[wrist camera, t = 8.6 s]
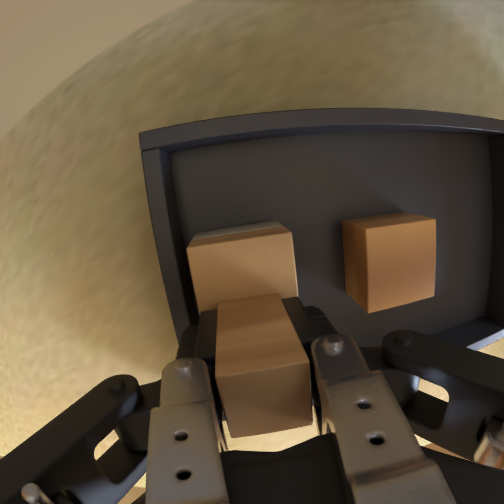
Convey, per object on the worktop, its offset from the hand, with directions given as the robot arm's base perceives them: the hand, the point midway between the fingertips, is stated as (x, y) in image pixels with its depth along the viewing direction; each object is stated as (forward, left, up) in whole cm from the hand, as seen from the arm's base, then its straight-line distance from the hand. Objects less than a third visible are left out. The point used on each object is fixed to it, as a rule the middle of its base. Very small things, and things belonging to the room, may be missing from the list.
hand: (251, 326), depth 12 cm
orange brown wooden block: (-1, +7, -4) cm, 9 cm away
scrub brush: (0, 0, -4) cm, 4 cm away
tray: (-1, +7, -4) cm, 9 cm away
